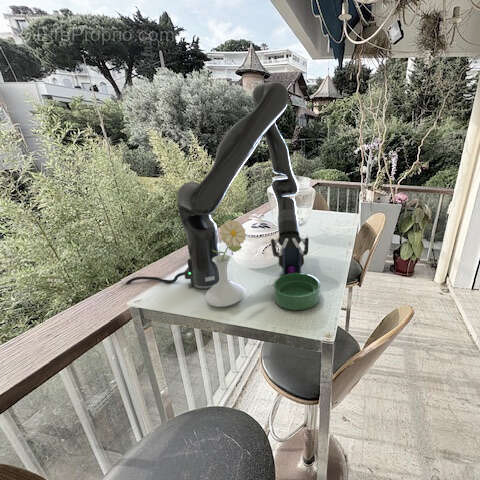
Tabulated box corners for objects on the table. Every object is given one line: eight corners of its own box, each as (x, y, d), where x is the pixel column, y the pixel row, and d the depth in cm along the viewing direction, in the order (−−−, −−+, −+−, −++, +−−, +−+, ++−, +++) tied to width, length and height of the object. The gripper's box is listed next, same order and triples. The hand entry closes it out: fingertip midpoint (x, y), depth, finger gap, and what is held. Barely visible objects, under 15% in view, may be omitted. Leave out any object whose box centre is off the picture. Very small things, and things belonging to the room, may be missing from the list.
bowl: (272, 312, 76) (271, 297, 74) (275, 286, 89) (275, 272, 87) (321, 311, 77) (322, 296, 75) (317, 285, 90) (318, 272, 89)
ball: (286, 276, 94) (286, 270, 92) (287, 270, 97) (286, 264, 95) (295, 276, 95) (295, 270, 93) (295, 270, 97) (295, 264, 95)
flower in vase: (209, 315, 74) (198, 230, 65) (202, 295, 83) (191, 218, 73) (255, 302, 80) (250, 223, 71) (243, 284, 89) (238, 212, 80)
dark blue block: (282, 271, 98) (281, 246, 94) (298, 270, 99) (298, 246, 96) (283, 279, 92) (283, 253, 89) (300, 278, 94) (301, 252, 90)
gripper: (268, 219, 94) (271, 264, 88) (308, 218, 97) (313, 261, 91) (268, 228, 101) (270, 271, 95) (305, 227, 104) (310, 268, 98)
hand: (291, 266), depth 93 cm, fingers closed on dark blue block, 6 cm apart
